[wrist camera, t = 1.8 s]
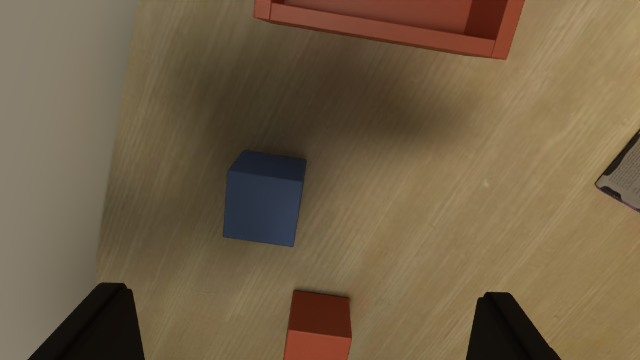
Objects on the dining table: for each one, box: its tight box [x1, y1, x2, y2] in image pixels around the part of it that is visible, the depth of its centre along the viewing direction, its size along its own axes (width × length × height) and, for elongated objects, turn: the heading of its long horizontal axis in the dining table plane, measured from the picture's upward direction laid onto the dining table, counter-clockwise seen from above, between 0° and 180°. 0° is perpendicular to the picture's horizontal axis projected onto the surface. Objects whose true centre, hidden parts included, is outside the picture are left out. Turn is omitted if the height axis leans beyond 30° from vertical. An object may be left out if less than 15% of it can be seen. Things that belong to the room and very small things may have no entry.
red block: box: [283, 291, 352, 360], centre depth 29 cm, size 4×4×4 cm
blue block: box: [223, 150, 307, 247], centre depth 25 cm, size 4×4×4 cm
